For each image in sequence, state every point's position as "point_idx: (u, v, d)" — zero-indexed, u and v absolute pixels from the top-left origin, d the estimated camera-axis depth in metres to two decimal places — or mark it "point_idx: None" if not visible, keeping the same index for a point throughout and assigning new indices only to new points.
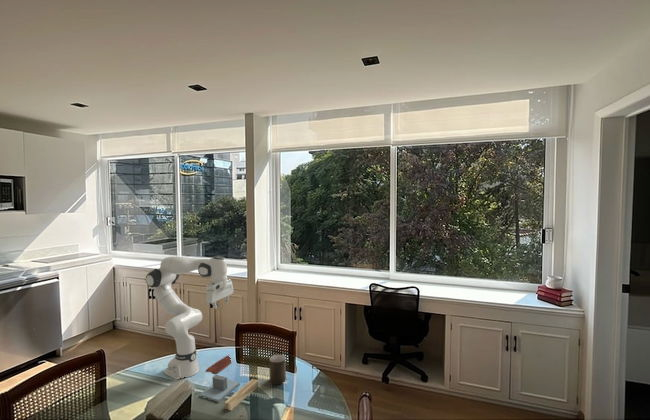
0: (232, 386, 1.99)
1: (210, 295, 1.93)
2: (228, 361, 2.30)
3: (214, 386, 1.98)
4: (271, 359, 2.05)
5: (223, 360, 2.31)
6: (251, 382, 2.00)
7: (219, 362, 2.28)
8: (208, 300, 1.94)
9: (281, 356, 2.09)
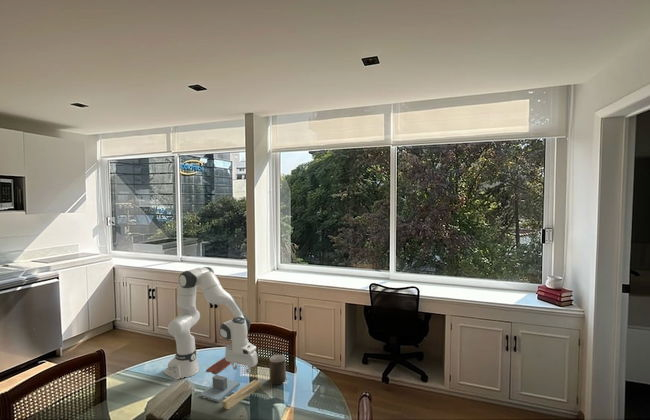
0: (232, 386, 1.99)
1: (256, 356, 1.87)
2: None
3: (214, 386, 1.98)
4: (271, 359, 2.05)
5: (223, 360, 2.31)
6: (253, 382, 1.99)
7: (219, 362, 2.28)
8: (255, 362, 1.86)
9: (281, 356, 2.09)
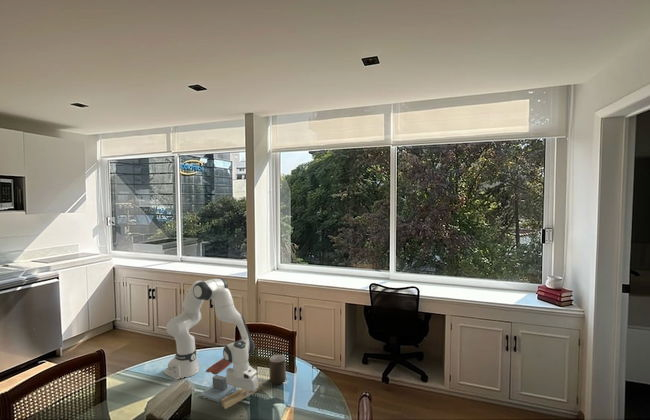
0: (232, 386, 1.99)
1: (257, 380, 1.88)
2: None
3: (214, 386, 1.98)
4: (271, 359, 2.05)
5: (223, 360, 2.31)
6: None
7: (219, 362, 2.28)
8: (256, 387, 1.87)
9: (281, 356, 2.09)
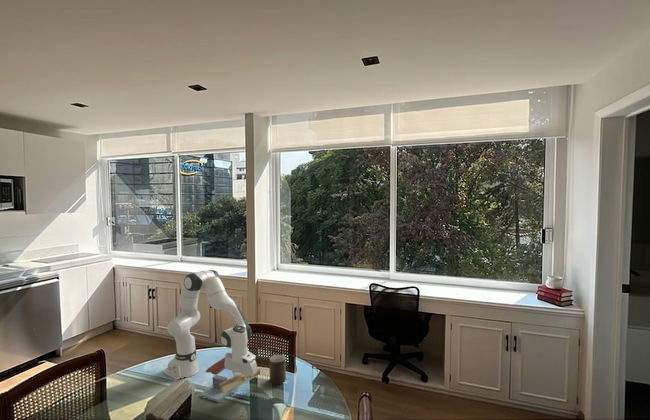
0: None
1: (255, 365, 1.87)
2: None
3: (214, 386, 1.98)
4: (271, 359, 2.05)
5: (223, 360, 2.31)
6: None
7: (219, 362, 2.28)
8: (254, 372, 1.86)
9: (281, 356, 2.09)
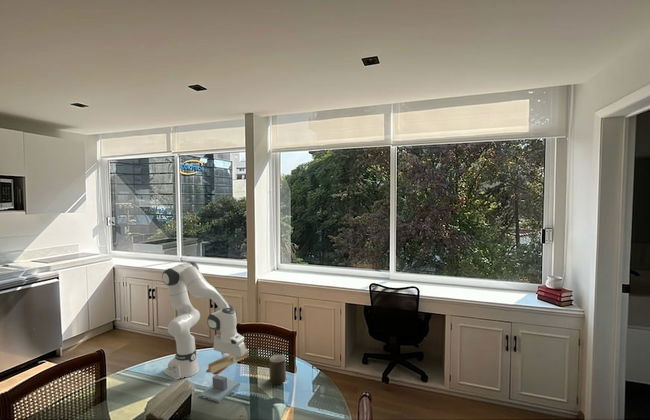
0: (232, 386, 1.99)
1: (244, 346, 1.90)
2: None
3: (214, 386, 1.98)
4: (271, 359, 2.05)
5: None
6: None
7: None
8: (243, 353, 1.89)
9: (281, 356, 2.09)
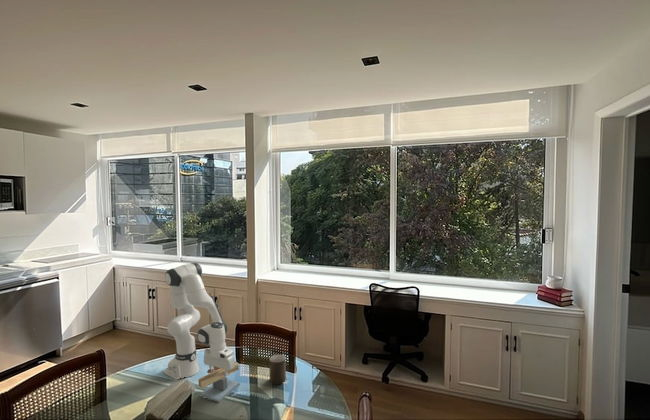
0: (232, 386, 1.99)
1: (233, 360, 1.94)
2: None
3: (214, 386, 1.98)
4: (271, 359, 2.05)
5: None
6: None
7: None
8: (232, 366, 1.93)
9: (281, 356, 2.09)
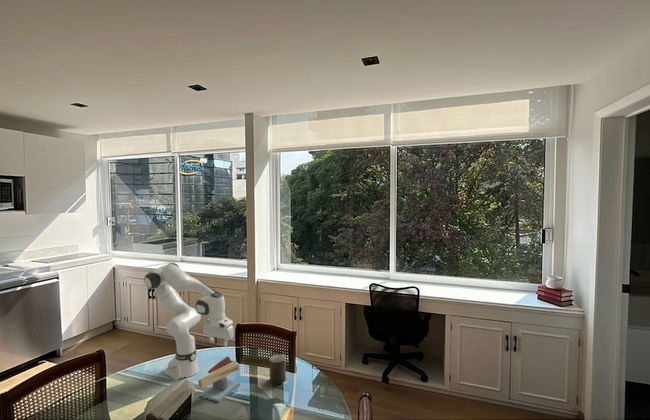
0: (232, 386, 1.99)
1: (232, 330, 1.94)
2: (229, 362, 2.29)
3: (214, 386, 1.98)
4: (271, 359, 2.05)
5: (224, 361, 2.30)
6: (231, 364, 2.04)
7: (220, 363, 2.27)
8: (231, 336, 1.92)
9: (281, 356, 2.09)
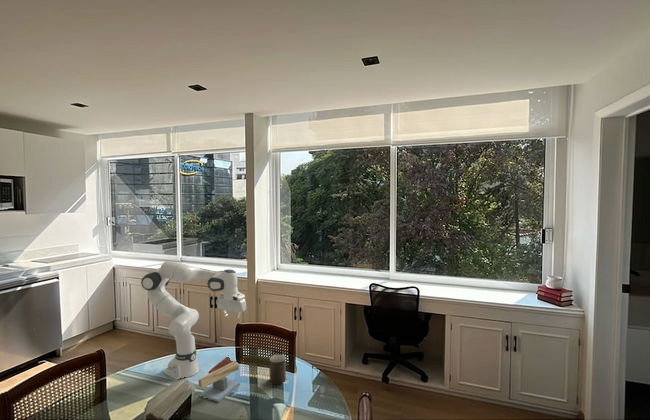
0: (232, 386, 1.99)
1: (245, 303, 2.10)
2: (230, 362, 2.29)
3: (214, 386, 1.98)
4: (271, 359, 2.05)
5: (224, 361, 2.30)
6: (231, 364, 2.04)
7: (221, 363, 2.27)
8: (244, 308, 2.09)
9: (281, 356, 2.09)
